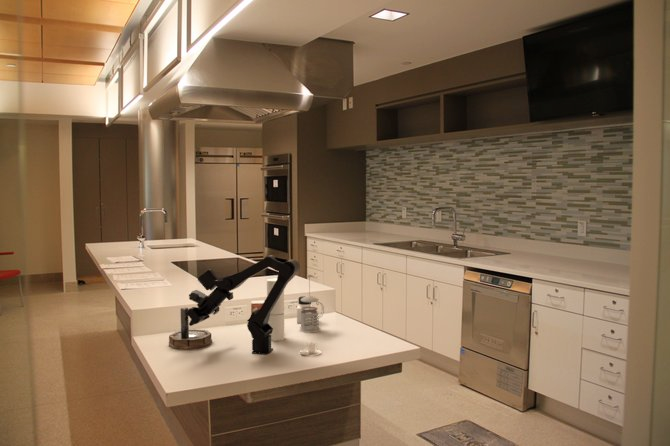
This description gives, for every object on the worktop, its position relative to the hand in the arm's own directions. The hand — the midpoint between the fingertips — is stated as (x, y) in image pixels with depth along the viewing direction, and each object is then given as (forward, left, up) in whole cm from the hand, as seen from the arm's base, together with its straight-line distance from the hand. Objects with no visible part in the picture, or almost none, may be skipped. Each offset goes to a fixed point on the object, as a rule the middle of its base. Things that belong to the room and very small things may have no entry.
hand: (190, 324), depth 214 cm
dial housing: (+2, -5, -9) cm, 10 cm away
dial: (+2, -5, -7) cm, 9 cm away
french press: (-41, -36, -9) cm, 55 cm away
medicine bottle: (-34, -50, -9) cm, 61 cm away
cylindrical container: (-30, -19, -9) cm, 36 cm away
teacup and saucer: (-46, -3, -9) cm, 47 cm away
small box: (-19, -30, -9) cm, 36 cm away
